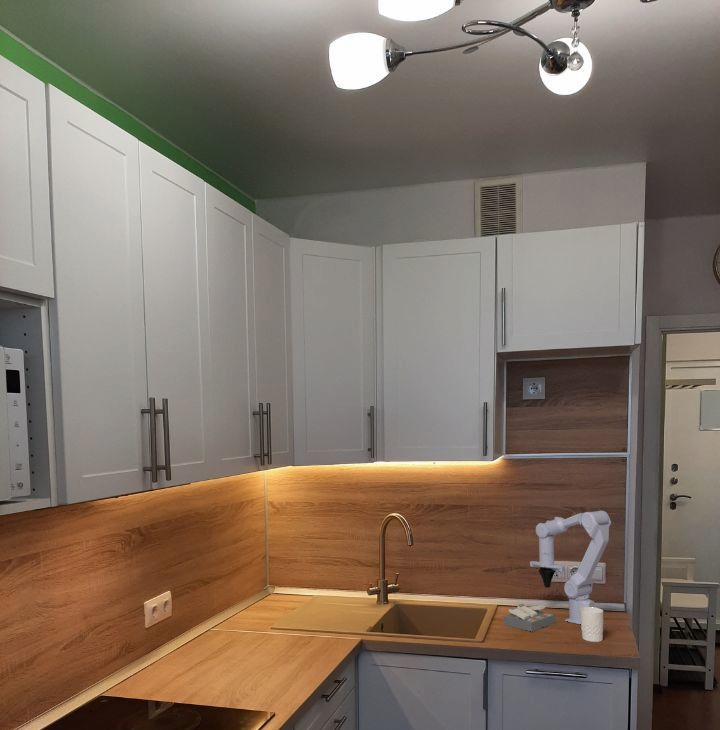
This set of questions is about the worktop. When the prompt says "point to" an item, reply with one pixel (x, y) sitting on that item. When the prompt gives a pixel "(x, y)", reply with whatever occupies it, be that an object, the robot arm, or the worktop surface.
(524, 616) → the left rocker
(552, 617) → the switch box
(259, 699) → the worktop surface
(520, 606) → the middle rocker
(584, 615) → the white cup
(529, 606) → the right rocker
